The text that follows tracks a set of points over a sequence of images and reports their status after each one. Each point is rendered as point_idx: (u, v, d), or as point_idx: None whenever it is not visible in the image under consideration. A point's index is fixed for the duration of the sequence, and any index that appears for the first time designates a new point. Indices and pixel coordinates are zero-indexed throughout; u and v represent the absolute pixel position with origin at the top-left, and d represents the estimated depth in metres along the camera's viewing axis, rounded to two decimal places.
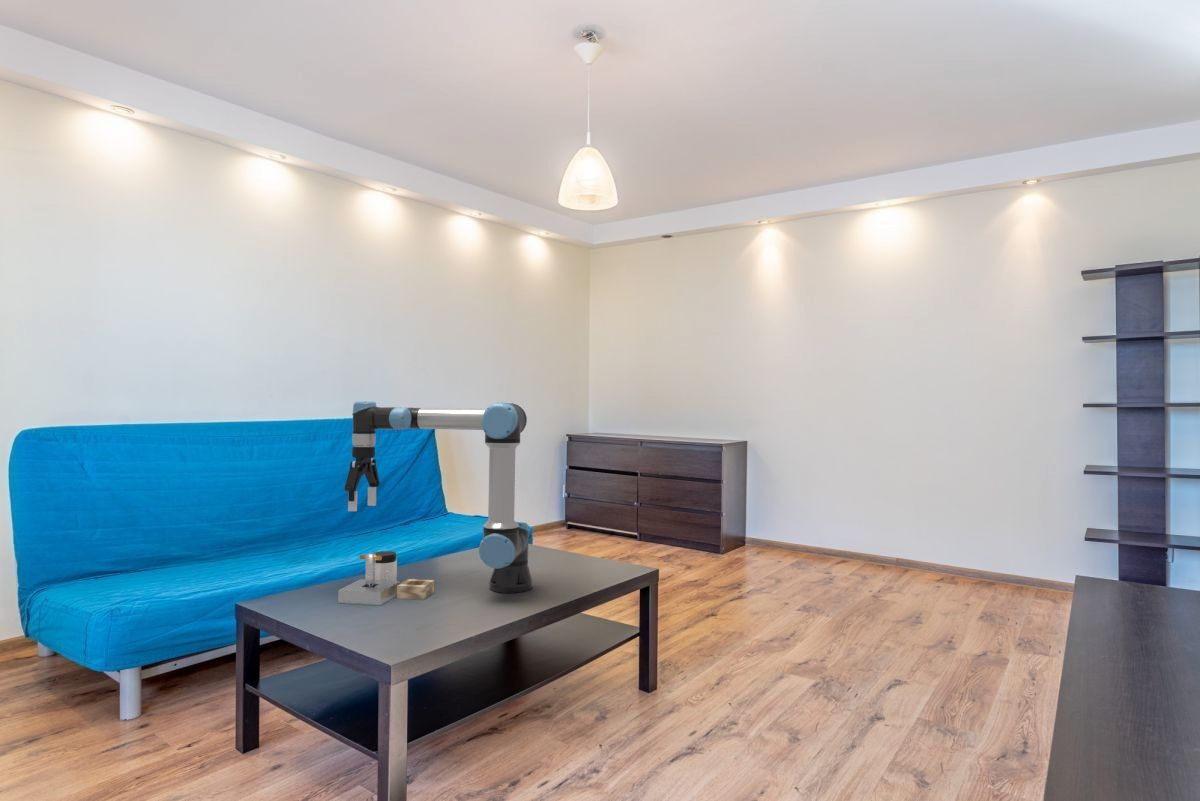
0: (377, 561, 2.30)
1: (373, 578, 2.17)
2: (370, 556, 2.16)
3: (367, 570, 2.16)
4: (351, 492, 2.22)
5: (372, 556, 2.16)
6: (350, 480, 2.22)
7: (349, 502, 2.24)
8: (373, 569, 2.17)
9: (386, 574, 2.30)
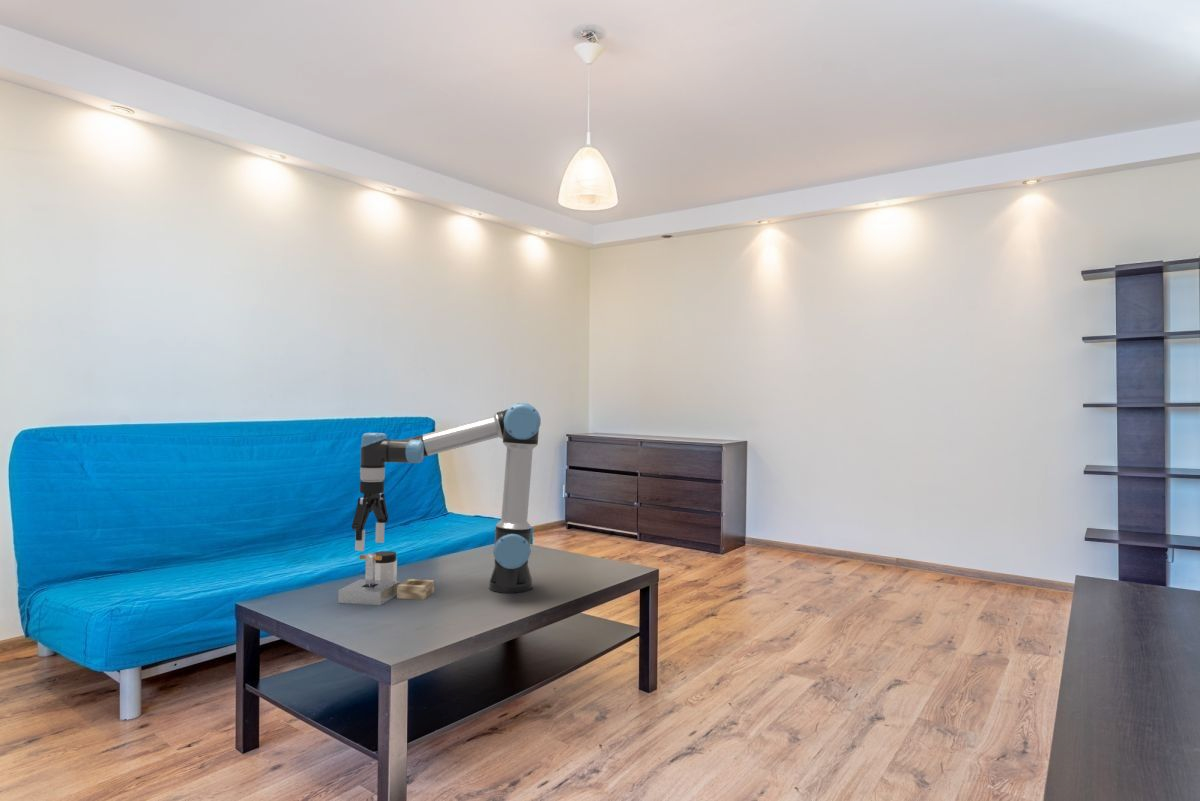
0: (377, 561, 2.30)
1: (373, 578, 2.17)
2: (370, 556, 2.16)
3: (367, 570, 2.16)
4: (358, 531, 2.09)
5: (372, 556, 2.16)
6: (358, 518, 2.09)
7: (356, 541, 2.11)
8: (373, 569, 2.17)
9: (386, 574, 2.30)
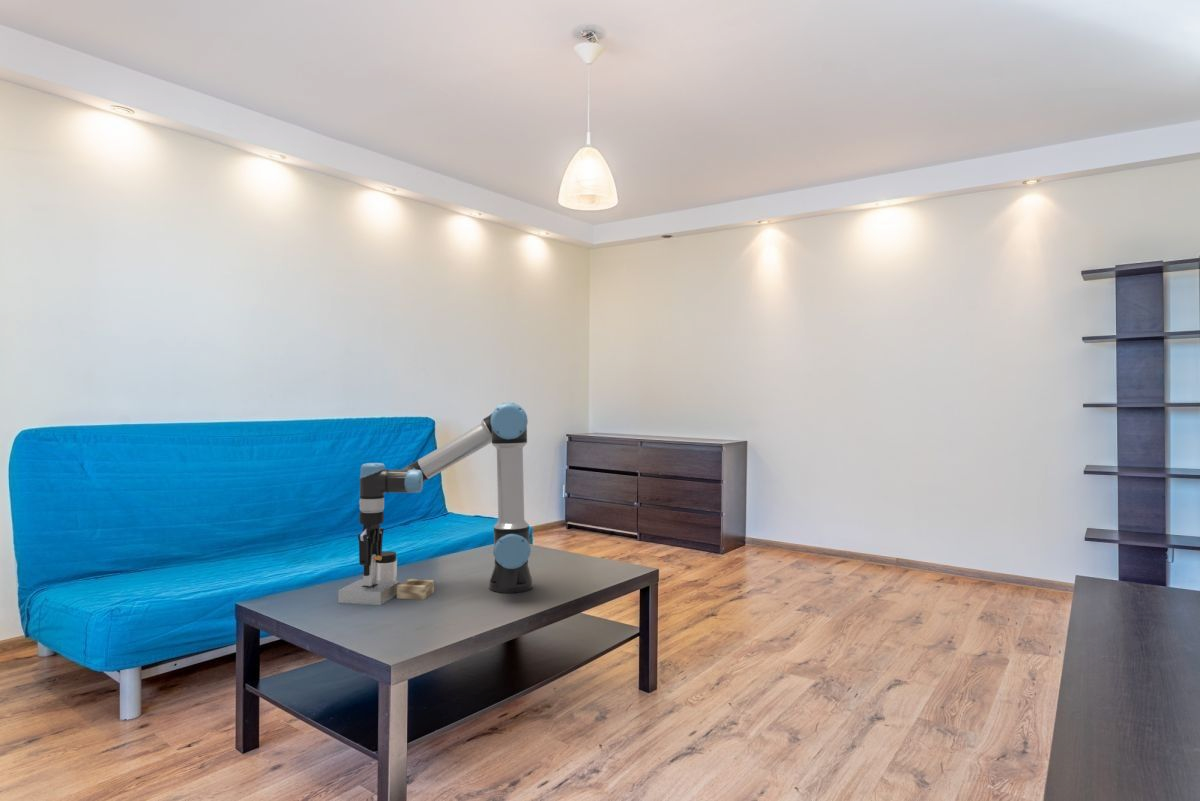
0: None
1: (373, 578, 2.17)
2: None
3: None
4: (366, 566, 2.14)
5: (372, 556, 2.16)
6: (363, 555, 2.12)
7: (364, 576, 2.15)
8: (373, 569, 2.17)
9: (386, 574, 2.30)
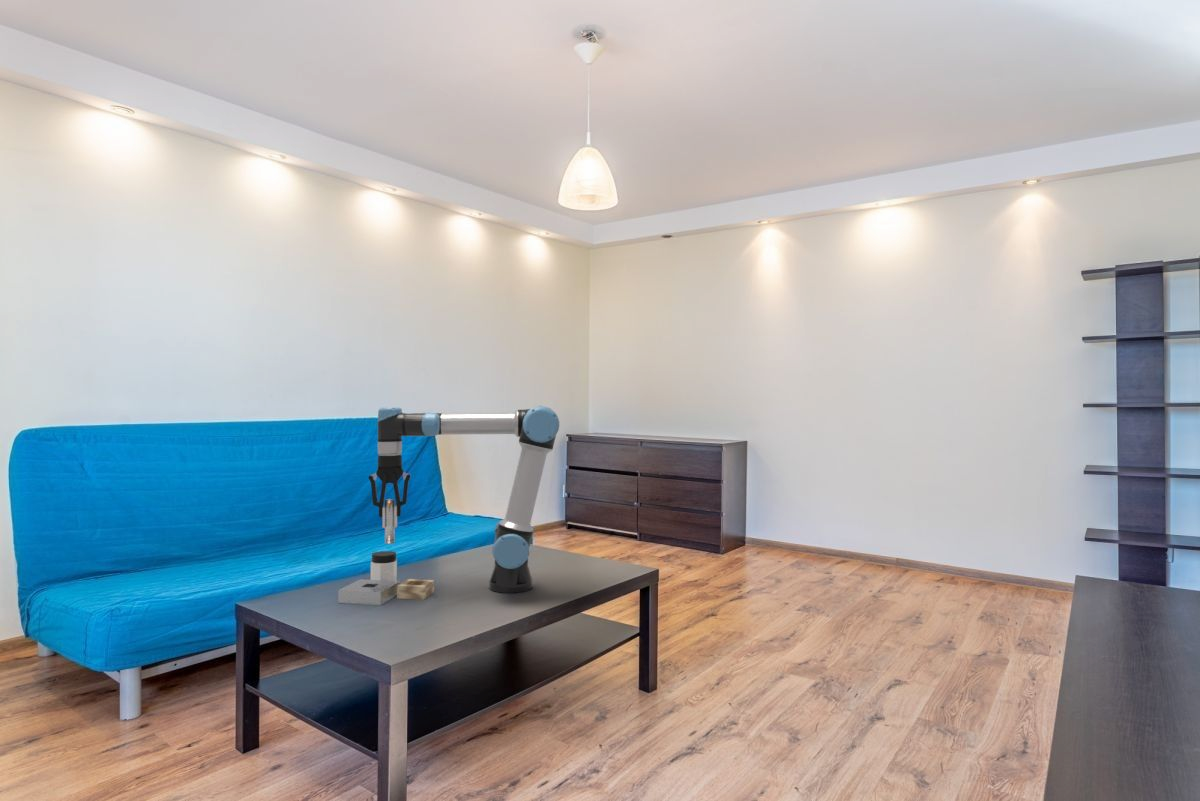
0: (377, 561, 2.30)
1: (387, 523, 2.18)
2: (385, 501, 2.18)
3: None
4: None
5: (386, 501, 2.18)
6: None
7: None
8: (387, 514, 2.18)
9: (386, 574, 2.30)
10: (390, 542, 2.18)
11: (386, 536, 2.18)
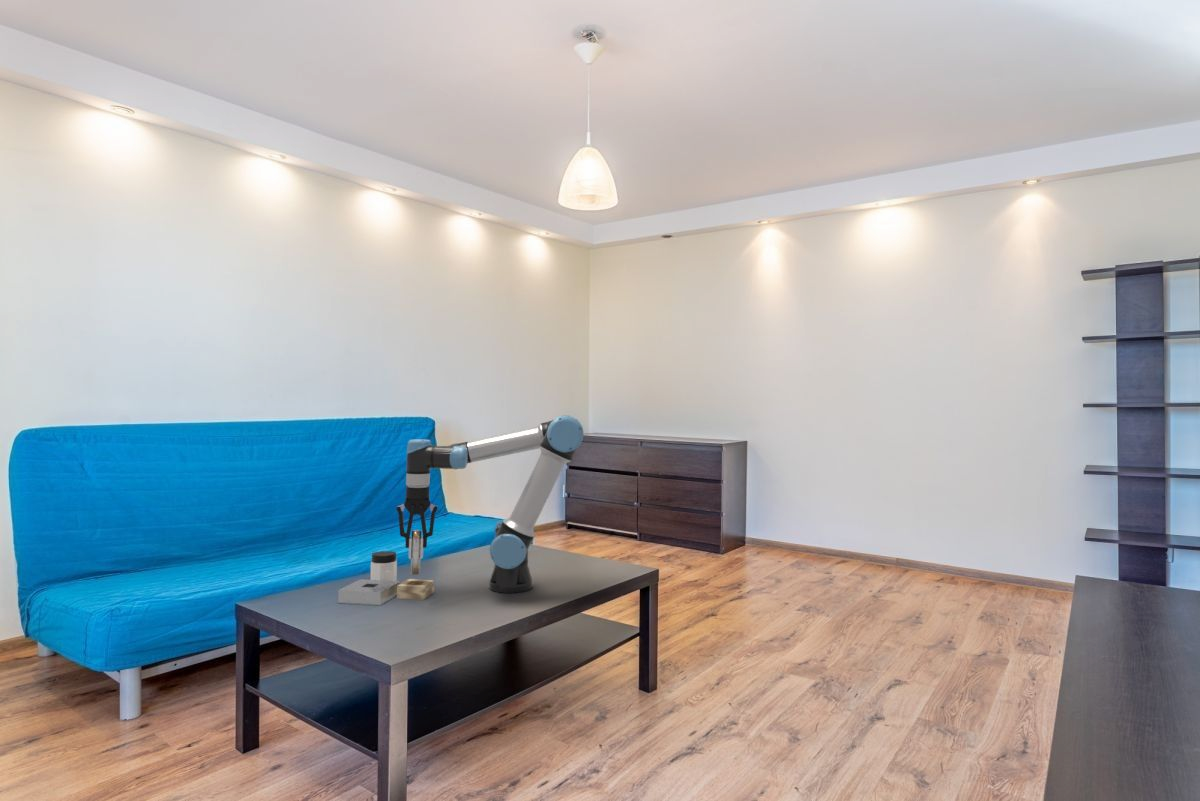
0: (377, 561, 2.30)
1: (414, 554, 2.20)
2: (412, 532, 2.21)
3: None
4: None
5: (413, 532, 2.20)
6: (399, 526, 2.20)
7: None
8: (414, 545, 2.20)
9: (386, 574, 2.30)
10: (416, 573, 2.20)
11: (412, 567, 2.20)
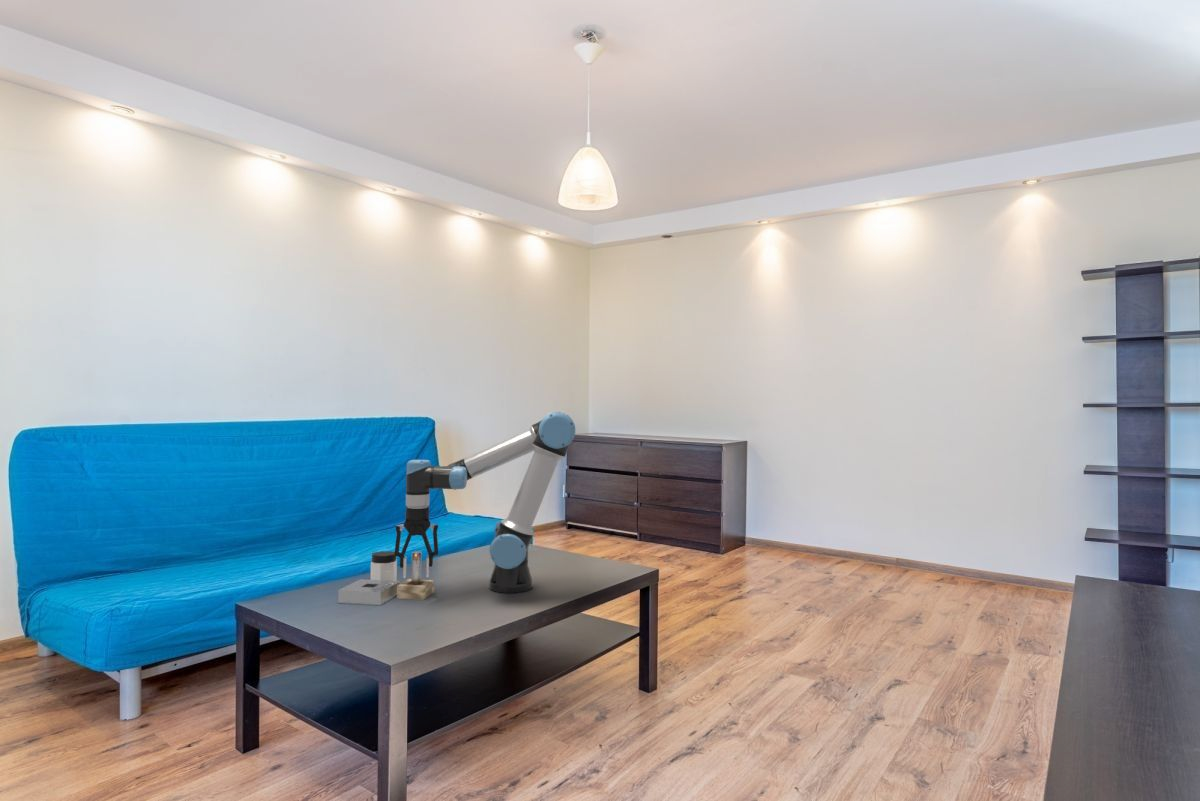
0: (377, 561, 2.30)
1: (414, 576, 2.20)
2: (412, 553, 2.21)
3: None
4: None
5: (413, 554, 2.20)
6: None
7: None
8: (414, 567, 2.20)
9: (386, 574, 2.30)
10: None
11: None
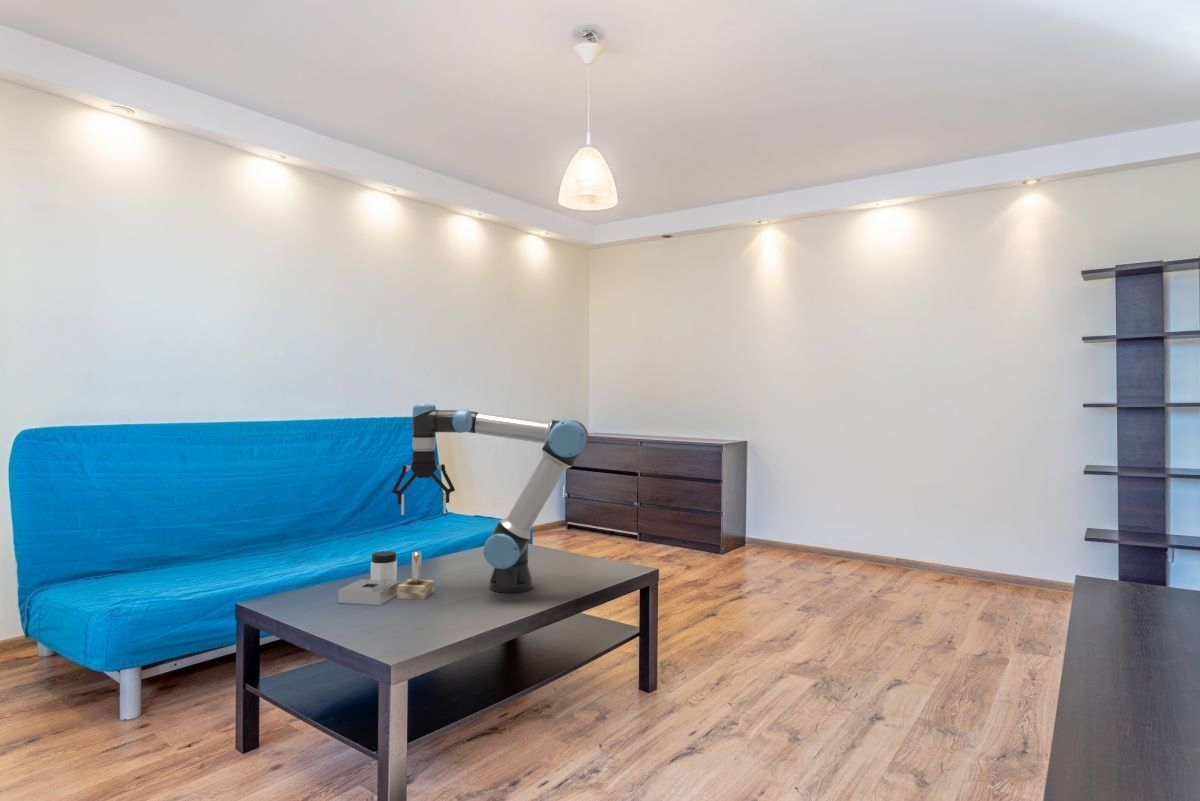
0: (377, 561, 2.30)
1: (414, 576, 2.20)
2: (412, 553, 2.21)
3: None
4: None
5: (413, 554, 2.20)
6: None
7: None
8: (414, 567, 2.20)
9: (386, 574, 2.30)
10: None
11: None
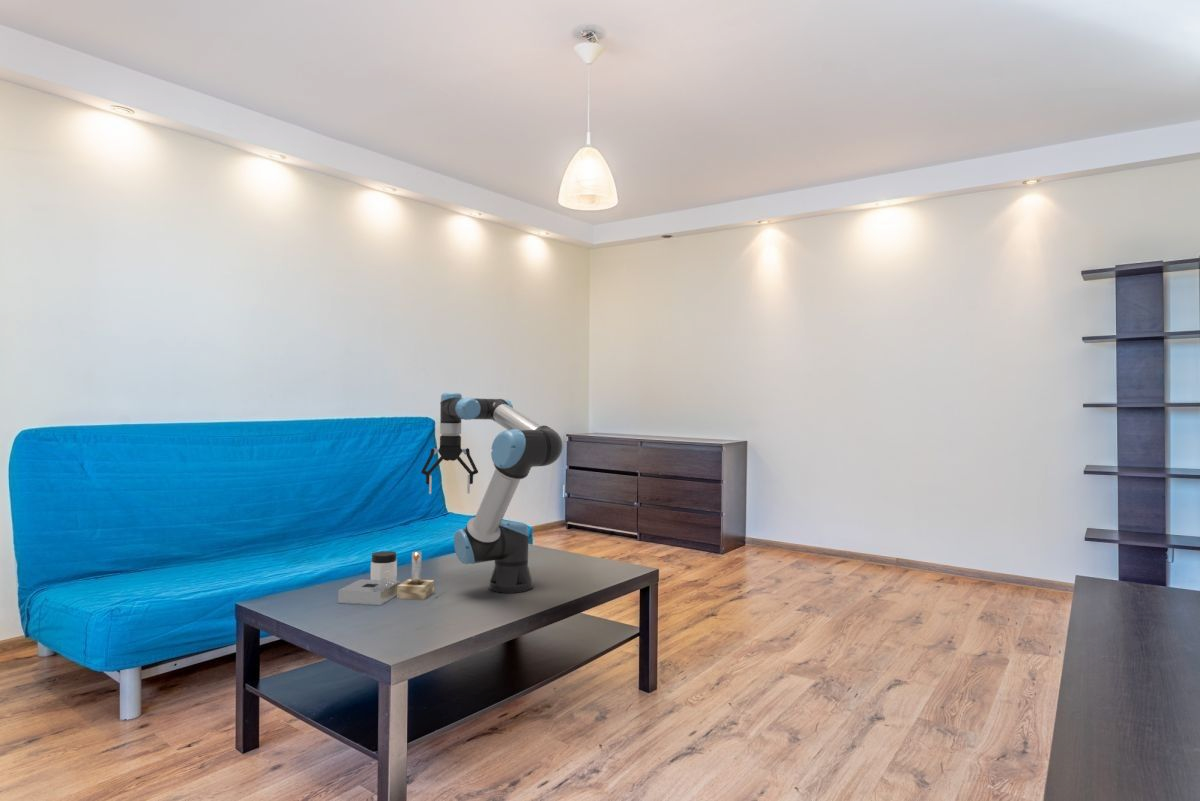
0: (377, 561, 2.30)
1: (414, 576, 2.20)
2: (412, 553, 2.21)
3: None
4: (426, 476, 2.43)
5: (413, 554, 2.20)
6: (424, 465, 2.44)
7: None
8: (414, 567, 2.20)
9: (386, 574, 2.30)
10: None
11: None
